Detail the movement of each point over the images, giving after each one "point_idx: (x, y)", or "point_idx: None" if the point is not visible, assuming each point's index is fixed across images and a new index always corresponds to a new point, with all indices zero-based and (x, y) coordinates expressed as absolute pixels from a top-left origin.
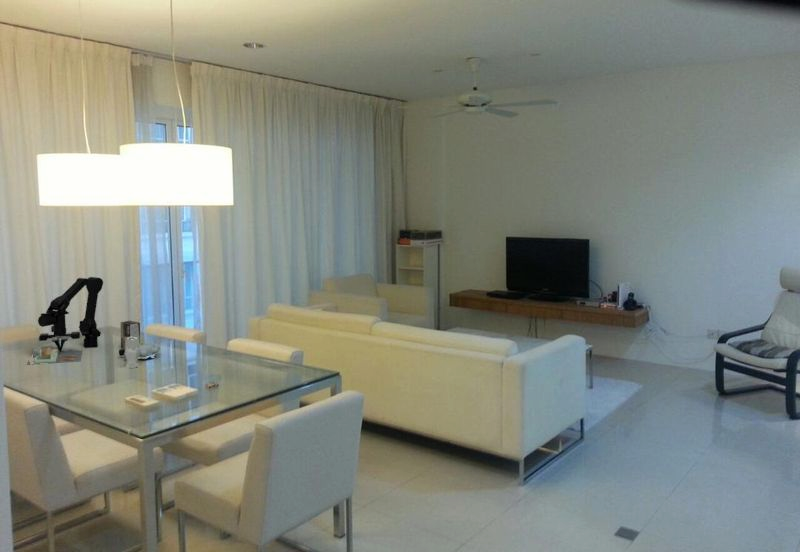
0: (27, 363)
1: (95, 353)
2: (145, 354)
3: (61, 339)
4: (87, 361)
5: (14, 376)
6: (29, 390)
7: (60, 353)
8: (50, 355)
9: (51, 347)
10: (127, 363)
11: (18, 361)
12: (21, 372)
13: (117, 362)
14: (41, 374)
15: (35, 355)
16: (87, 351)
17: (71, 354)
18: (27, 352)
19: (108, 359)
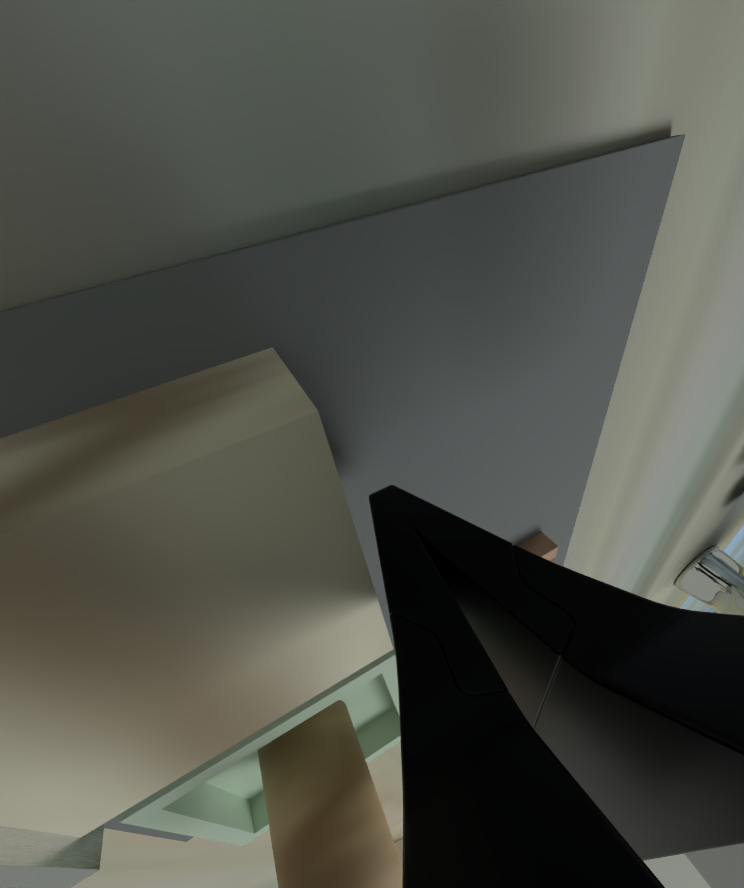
0: (158, 834)
1: (711, 339)
2: None
3: (673, 852)
4: (583, 574)
5: (262, 877)
6: (395, 835)
7: (347, 434)
8: (323, 703)
9: (83, 533)
10: (699, 600)
11: None
12: (259, 855)
13: (689, 534)
14: (381, 792)
15: None
16: (698, 214)
17: (506, 457)
18: None
19: (687, 500)
